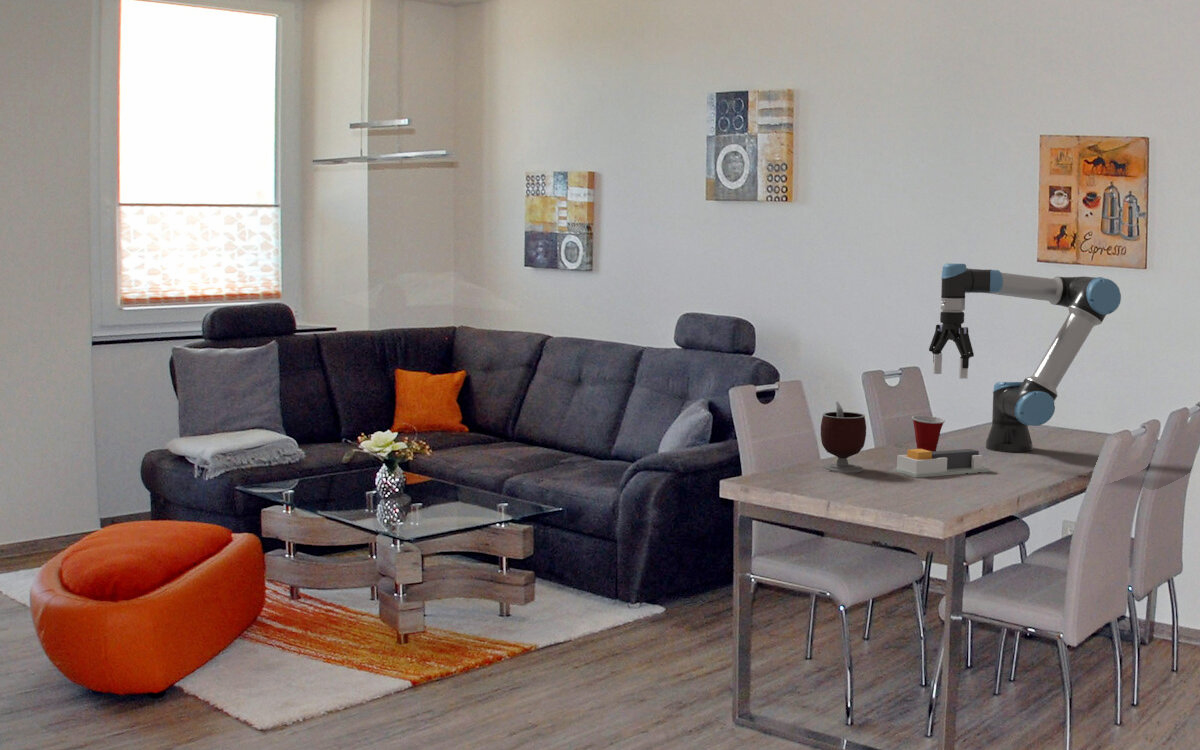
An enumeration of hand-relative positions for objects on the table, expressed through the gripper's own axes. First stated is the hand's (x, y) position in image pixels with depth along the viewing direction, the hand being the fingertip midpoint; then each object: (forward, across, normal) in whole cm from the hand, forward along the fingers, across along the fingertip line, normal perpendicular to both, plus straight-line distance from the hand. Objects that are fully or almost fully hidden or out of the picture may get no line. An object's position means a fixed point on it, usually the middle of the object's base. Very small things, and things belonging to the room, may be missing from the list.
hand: (950, 376), depth 410 cm
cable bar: (+26, +20, -17) cm, 37 cm away
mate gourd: (+27, +6, -44) cm, 52 cm away
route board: (+27, +20, -17) cm, 38 cm away
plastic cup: (+27, -8, -2) cm, 28 cm away
